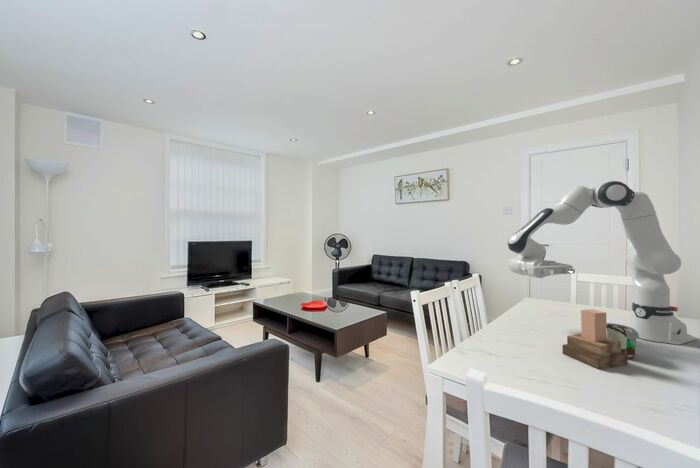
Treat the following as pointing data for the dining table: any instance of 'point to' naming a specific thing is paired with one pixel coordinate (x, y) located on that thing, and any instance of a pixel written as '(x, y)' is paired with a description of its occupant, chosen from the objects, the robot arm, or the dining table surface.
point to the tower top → (594, 346)
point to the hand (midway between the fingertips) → (564, 272)
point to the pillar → (593, 325)
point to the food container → (623, 337)
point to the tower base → (596, 358)
